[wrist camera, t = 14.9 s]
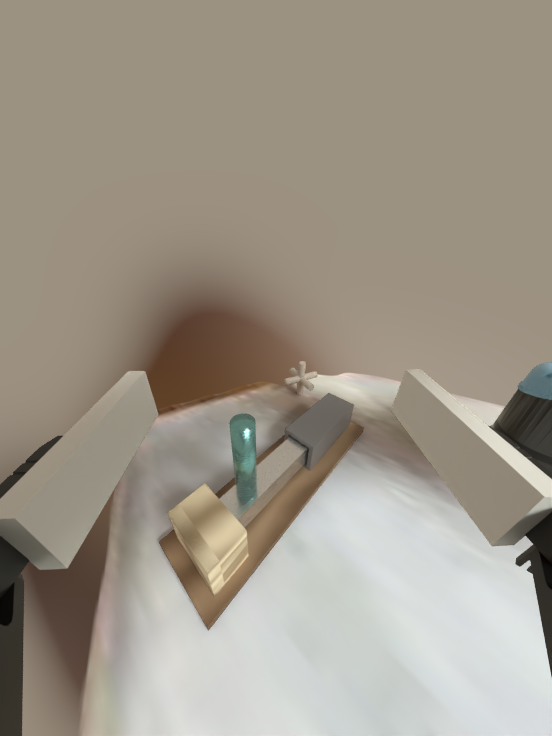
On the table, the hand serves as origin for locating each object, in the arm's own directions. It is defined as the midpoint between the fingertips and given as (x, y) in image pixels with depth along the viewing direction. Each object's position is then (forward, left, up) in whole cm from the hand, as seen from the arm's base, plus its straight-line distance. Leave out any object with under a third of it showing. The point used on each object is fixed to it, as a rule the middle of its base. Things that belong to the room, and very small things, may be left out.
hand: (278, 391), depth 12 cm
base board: (+10, -15, -32) cm, 36 cm away
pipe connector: (+24, -38, -32) cm, 55 cm away
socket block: (+10, +2, -31) cm, 32 cm away
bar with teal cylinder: (+10, -10, -29) cm, 33 cm away
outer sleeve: (+10, -26, -31) cm, 41 cm away
